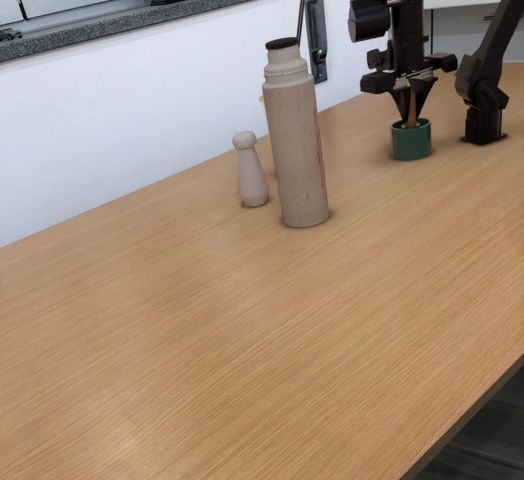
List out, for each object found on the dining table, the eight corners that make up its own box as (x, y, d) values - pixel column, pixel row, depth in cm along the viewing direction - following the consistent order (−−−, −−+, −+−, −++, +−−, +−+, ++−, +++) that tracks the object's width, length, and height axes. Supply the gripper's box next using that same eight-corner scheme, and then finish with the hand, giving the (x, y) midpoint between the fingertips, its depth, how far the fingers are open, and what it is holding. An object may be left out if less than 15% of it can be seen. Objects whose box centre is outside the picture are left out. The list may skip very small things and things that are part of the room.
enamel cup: (414, 144, 125) (413, 115, 122) (439, 152, 119) (439, 121, 116) (383, 155, 123) (382, 125, 119) (407, 163, 117) (406, 132, 113)
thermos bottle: (331, 206, 106) (312, 30, 90) (326, 225, 99) (304, 39, 84) (287, 210, 108) (260, 38, 92) (279, 229, 101) (249, 48, 86)
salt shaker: (258, 210, 110) (245, 138, 103) (234, 207, 114) (220, 137, 106) (276, 197, 114) (265, 127, 106) (253, 195, 117) (240, 127, 110)
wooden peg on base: (412, 141, 122) (411, 89, 116) (424, 144, 119) (423, 91, 113) (398, 146, 121) (396, 94, 115) (409, 149, 118) (407, 96, 112)
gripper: (420, 19, 117) (422, 102, 126) (340, 41, 112) (347, 126, 121) (460, 20, 109) (459, 109, 117) (375, 44, 103) (380, 136, 112)
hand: (410, 120), depth 117 cm, fingers closed on wooden peg on base, 2 cm apart
